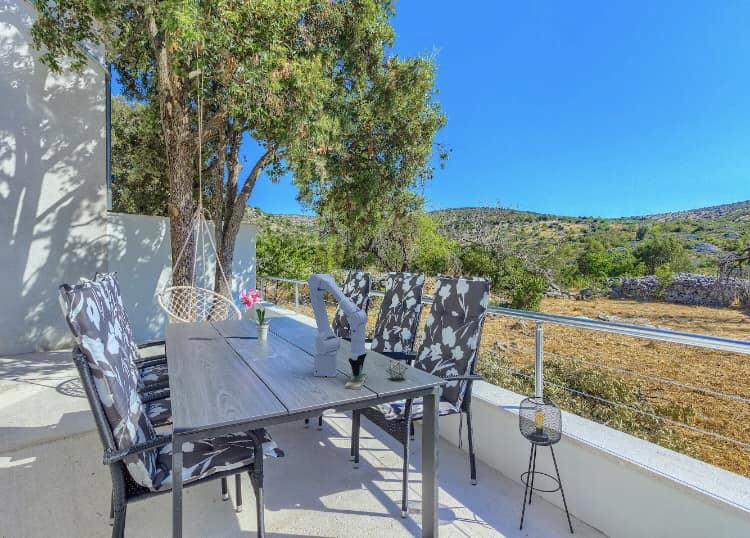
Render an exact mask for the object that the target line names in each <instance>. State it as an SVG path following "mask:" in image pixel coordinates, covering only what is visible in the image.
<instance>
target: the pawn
mask: <svg viewBox="0 0 750 538" xmlns="http://www.w3.org/2000/svg"><path fill="white" fill-rule="evenodd" d="M362 372H363V369H362V365H361V366H360V372H359V376H354V378H355V379H361V378H362V374H363V373H362Z"/></svg>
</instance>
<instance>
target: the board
mask: <svg viewBox="0 0 750 538" xmlns="http://www.w3.org/2000/svg"><path fill="white" fill-rule="evenodd" d="M367 376H369V375H368V373H362V378H361V379H355V378H354V376H353V374H352V376H351V377H350V378H349V379H348V380H347V382H346V384H345V385H344V389H346V390H361V389H362V387H363V385H364V384H365V382H366V380H367V378H368V377H367ZM365 379H366V380H365ZM364 381H365V382H364ZM363 383H364V384H363Z"/></svg>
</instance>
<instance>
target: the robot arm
mask: <svg viewBox="0 0 750 538" xmlns="http://www.w3.org/2000/svg"><path fill="white" fill-rule="evenodd" d="M335 280H336V279H335V277H333V276H332V274H331V273H312V274H310V276H309V278H308V280H307V284H308V288H309V292H308V293H309V298H310V302H311V306H312V310H313V311H312V312H313V316H314V319H315V323H316V327H317V330H318V331H317V332H318V334H317V336H316V337H315V348H316V352H317V353H315V355H314V356H313V357H314V358H313V377H325V376H327V377H329V378H335V377H337V375H338V374H339V373H340V371H339V370H337V354H338V350H340V347H341V342H340V340H339V338H338V337H337V333H335V332H334V331H333V330H332V329H331V324H330V321H329V320H330V319H329V317H328V312H327V309H326V304H325V301H324V295H325V293H326V292H327V291H328V292H329V293H330V294H331V295H332V296H333V297H334V298H335V299H336V300H337V301H338V303H339V308H340V309H341V310H342V312H343V313H344V315H345V316H346V317H348V318H347V321H348V324H349V326H350V355H351V357H349V358H348V363H349V364H350V367H351V372H352V375H353V376H359V372H360V366H361V365H362V370H363V369H364V363H365V359H366V357H367V354H368V350H366V324H367V322H368V319H369V316H368V314H367V312H366V311H365V310H363V309H360V307H358V305H356V304H355V302H354V300H353V298H351V297H347V296H346V295H345V294H344V293H343V291H342V290H341V289H340V287H339V286H338V284H337V283H336V281H335Z"/></svg>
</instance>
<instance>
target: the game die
mask: <svg viewBox="0 0 750 538" xmlns="http://www.w3.org/2000/svg"><path fill="white" fill-rule="evenodd" d="M389 362H390V363H389V366H388V368H387V369H386V370H385V373H386V372H387V374H389V376H390V377H391V378H392V379H391V380H392V381H394V379H402V380H405V378H404V376H405V373H406V372H407V370H408V369H409V367H406V366H405V364H404V363H403V362H402V358H401V359H400V360H393V361H392V360H391V359H389Z"/></svg>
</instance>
